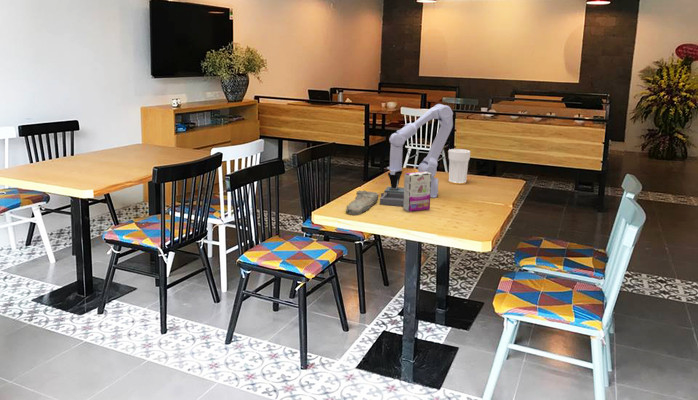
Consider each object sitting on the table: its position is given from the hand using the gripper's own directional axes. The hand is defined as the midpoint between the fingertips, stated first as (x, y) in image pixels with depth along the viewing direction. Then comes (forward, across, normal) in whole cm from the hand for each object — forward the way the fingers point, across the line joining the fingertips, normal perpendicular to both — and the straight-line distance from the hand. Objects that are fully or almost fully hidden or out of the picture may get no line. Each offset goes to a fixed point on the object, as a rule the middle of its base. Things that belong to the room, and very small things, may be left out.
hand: (394, 186), depth 284 cm
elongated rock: (+5, +24, -10) cm, 26 cm away
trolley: (+4, 0, +2) cm, 5 cm away
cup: (+5, -43, +26) cm, 50 cm away
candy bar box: (+5, +22, +14) cm, 26 cm away
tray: (+4, +12, +4) cm, 14 cm away
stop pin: (+4, 0, 0) cm, 4 cm away
